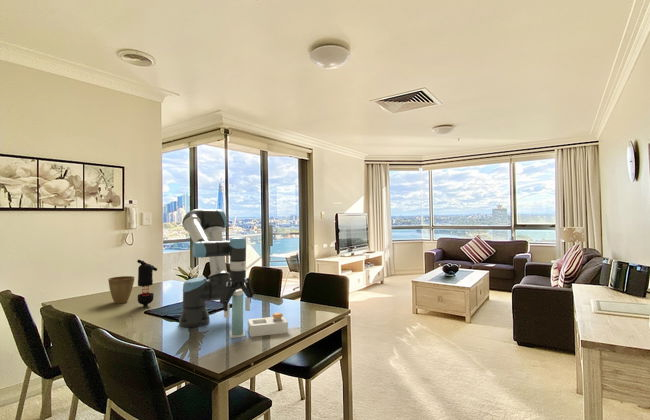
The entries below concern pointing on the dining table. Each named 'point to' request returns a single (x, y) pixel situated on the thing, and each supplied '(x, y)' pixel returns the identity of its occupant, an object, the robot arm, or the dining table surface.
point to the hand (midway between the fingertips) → (237, 314)
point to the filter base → (267, 326)
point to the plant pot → (121, 288)
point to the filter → (145, 282)
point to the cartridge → (237, 313)
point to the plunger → (277, 316)
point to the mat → (237, 335)
